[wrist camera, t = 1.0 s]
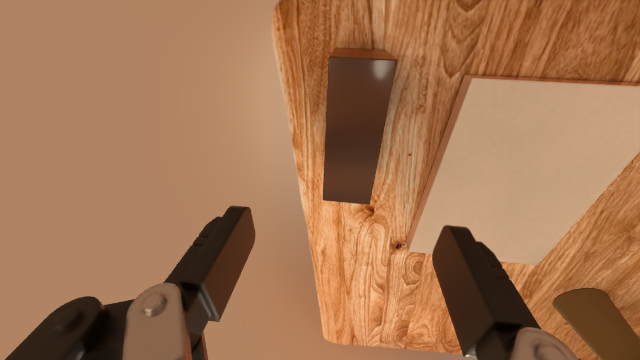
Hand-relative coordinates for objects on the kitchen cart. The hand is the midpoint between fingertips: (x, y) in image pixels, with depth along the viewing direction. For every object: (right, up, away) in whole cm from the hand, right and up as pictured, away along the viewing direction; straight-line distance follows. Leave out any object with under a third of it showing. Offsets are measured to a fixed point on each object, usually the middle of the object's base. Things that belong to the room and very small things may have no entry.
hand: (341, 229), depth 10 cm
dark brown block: (+2, +8, +12) cm, 14 cm away
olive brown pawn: (+35, -15, +23) cm, 44 cm away
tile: (+18, +2, +14) cm, 23 cm away
